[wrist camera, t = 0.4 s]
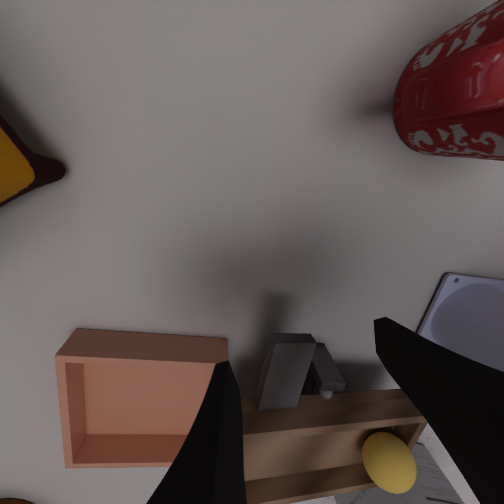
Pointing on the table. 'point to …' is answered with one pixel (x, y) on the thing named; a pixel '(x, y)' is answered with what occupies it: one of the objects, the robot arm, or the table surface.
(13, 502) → the disposable coffee cup
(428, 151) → the mug
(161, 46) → the table surface
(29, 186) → the decorative lantern
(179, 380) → the tray
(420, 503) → the supplement box
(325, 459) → the brown wooden tray
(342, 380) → the seesaw stand
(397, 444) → the ball
